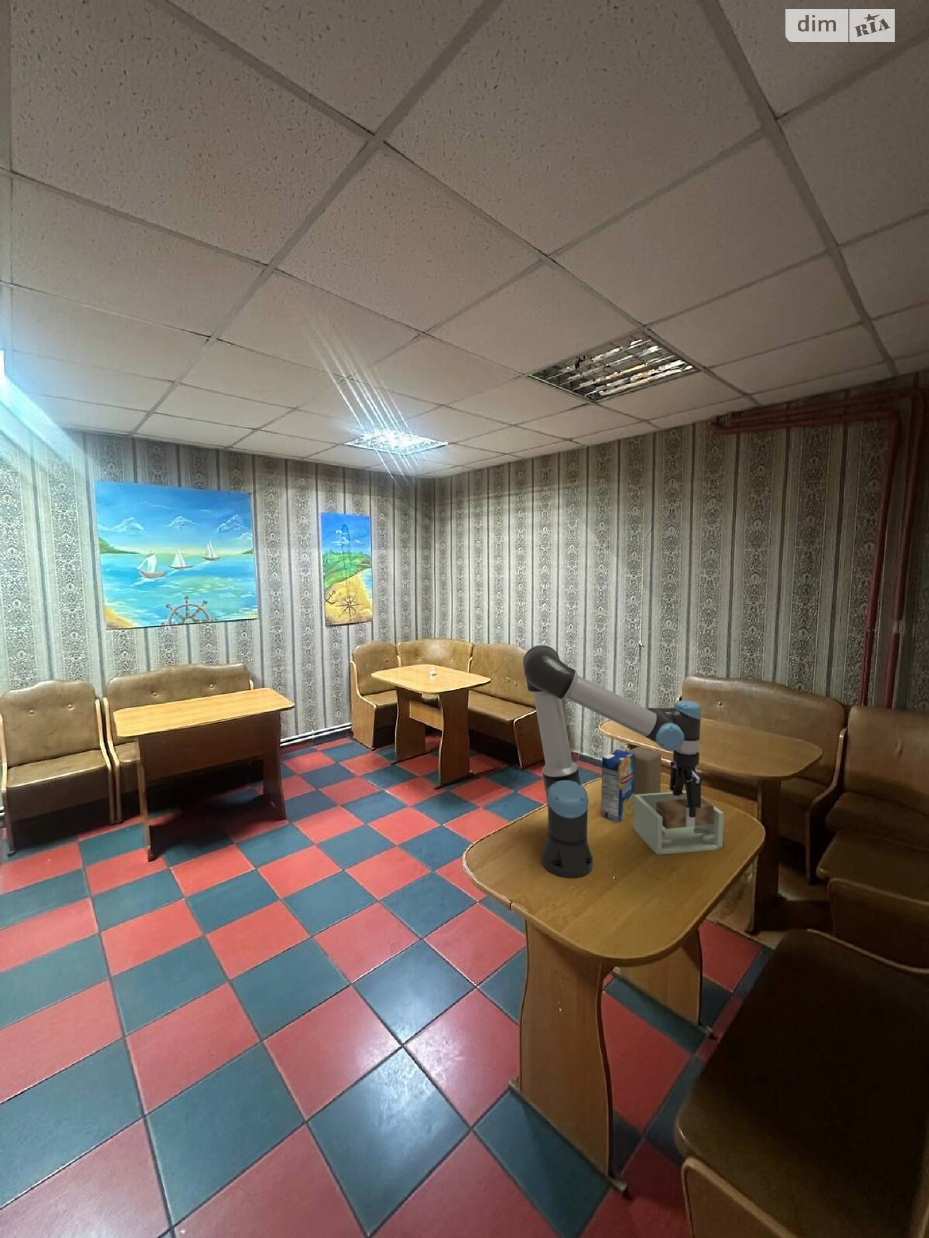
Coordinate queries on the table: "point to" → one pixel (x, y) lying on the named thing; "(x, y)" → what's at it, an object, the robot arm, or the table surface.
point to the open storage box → (676, 838)
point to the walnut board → (683, 813)
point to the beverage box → (617, 785)
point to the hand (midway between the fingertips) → (684, 820)
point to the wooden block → (646, 771)
